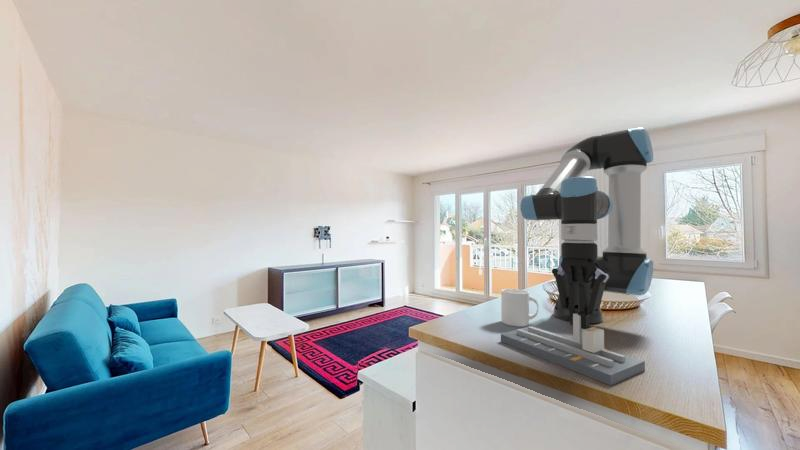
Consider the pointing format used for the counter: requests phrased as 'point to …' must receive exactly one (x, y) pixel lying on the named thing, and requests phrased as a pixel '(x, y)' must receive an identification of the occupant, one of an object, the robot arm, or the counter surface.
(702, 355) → the counter surface
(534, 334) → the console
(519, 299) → the mug
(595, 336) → the fader
